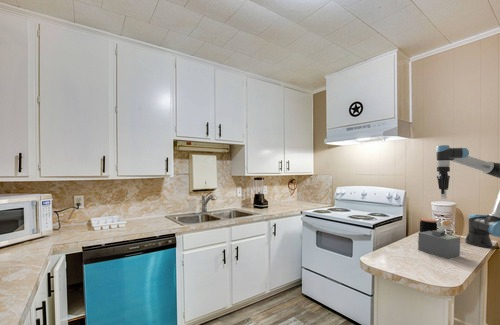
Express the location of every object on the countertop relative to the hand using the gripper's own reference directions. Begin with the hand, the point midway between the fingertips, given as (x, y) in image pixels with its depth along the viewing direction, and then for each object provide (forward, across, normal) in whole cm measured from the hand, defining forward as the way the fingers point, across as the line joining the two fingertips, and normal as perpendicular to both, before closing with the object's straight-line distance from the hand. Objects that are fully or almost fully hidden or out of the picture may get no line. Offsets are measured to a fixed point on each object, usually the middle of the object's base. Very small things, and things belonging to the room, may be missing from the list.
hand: (443, 198), depth 177 cm
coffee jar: (+36, +2, -10) cm, 37 cm away
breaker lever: (+22, +18, +5) cm, 29 cm away
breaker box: (+35, +18, +5) cm, 40 cm away
